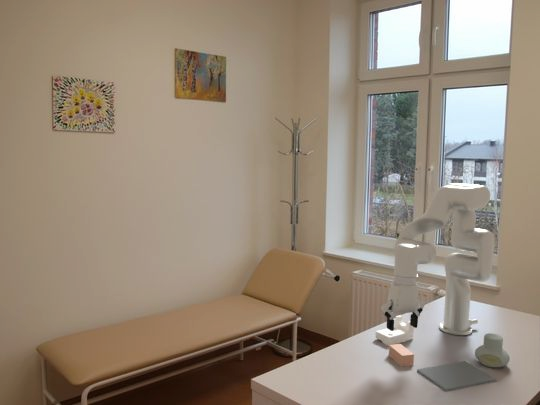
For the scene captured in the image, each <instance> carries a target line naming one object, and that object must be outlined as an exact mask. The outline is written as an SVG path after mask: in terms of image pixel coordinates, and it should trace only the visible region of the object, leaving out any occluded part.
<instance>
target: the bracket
mask: <svg viewBox="0 0 540 405" xmlns="http://www.w3.org/2000/svg"><path fill="white" fill-rule="evenodd" d="M414 330H415V327H413V326H411V325H410V320H408V321H407V323H405V322H404V320H403V315H402V314H398V315H395V319H394V330H393V331H391V330H389V329H387V327H386V328H383V329H378V330H376V331H375V339H377V340H379V341H381V343H382V344H384V345H386V346H387V347H389V345H394V344H401V343H404V342H408V341H411V340H413V339H414Z"/></svg>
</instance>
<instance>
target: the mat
mask: <svg viewBox="0 0 540 405" xmlns="http://www.w3.org/2000/svg"><path fill="white" fill-rule="evenodd" d="M416 372H417V373H420V375H422V376H424V377H425V378H426V379H427V380H430V382H432V383H434V384H435V385H436V386H438V387H440V388H441V389H443V391H445V392H448V391H454V390H458V389H463V388H468V387H472V386H473V387H474V386H478V385H483V384H487V383H492V382H496V381H497V378H495V377H494V376H492V375H490V374H488V373H486V372H485V371H483V370H482V369H479V368H478V367H476V366H474V365H473V364H471V363H470V362H468V361H467V360H461V361H456V362H450V363H445V364H439V365H435V366H429V367H423V368H418V369H416Z"/></svg>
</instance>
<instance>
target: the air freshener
mask: <svg viewBox="0 0 540 405" xmlns="http://www.w3.org/2000/svg"><path fill="white" fill-rule="evenodd" d="M503 342H504V337H502V336H501V335H499V334H497V333H485V334H484V336H483V344H482V345H479V346H478V347H477V348H476V349H475V351H474V356H475V358H476V359H477V361H478V362H479V363H480V364H482V365H484V366H486V367H488V368H492V369H493V368H494V369H495V368H497V369H498V368H503V367H505V366H506V365H508V364H509V363H510V359H511V358H510V355H509V353H508V351H506V350H505V348H503V345H504V343H503Z"/></svg>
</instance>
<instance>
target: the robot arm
mask: <svg viewBox="0 0 540 405" xmlns="http://www.w3.org/2000/svg"><path fill="white" fill-rule="evenodd" d="M490 192H491V191H490V189H489V188H488V187H487V186H485V185H480V184H472V183H471V184H469V183H462V182H461V183H459V182H453V183H452V182H451V183H447V184H445V185H443V186H440V187H439V188H437V189H436V190H435V193H434V195H433V197H432V199H431V200H430V202H429V204H428V206H427V208H426V210H425V211H424V213H423V214H422V216H419V217H417V218H415V219H414V220H413V221H411V222H410V223H408V224H407V225H406V226H405V227H403V228H402V230H401V232H400V234H399V235H398V237H397V239H396V241H395V243H394V247H393V248H394V250H393V251H394V266H393V268H394V270H393V282H391V284H390V285H389V286H390V287H389V290H388V296H387V302H386V303H384V304H382V305H381V307H380V308H381V311H382V314H383V315H384V317H386V328H387V329H389V330H391V331H393V330H394V326H395V319H394V318H396V316H397V315H402V314H409V313H411V314H410V320H409V321H410V325H411V326H413V327H414V329H417V328H418V322H419V317H420V316H421V313H422V312H423V310H424V307H425V305H426V303H425V301H422V300H420V298H419V296H420V294H419V286H418V283H417V280H419V279H420V278H419V275H418V265H428V264H430V263H432V262H433V261H434V260H435V258H436V257H437V250H436V247H435V245H433V244H432V243H430V242H426V241H420V240H417V239H416V240H415V238H417V237H418V236H420V235H421V236H422V235H423V234H427V233H431V232H435V231H439V230H443V228H445V227H446V226H447V224H448V222H449V220H450V218H451V216H452V225H451V235H450V236H451V237H450V239H451V240H450V242H451V246H452V247H453V248H454V249H456V250H459V251H462V252H469V253H475V254H476V255H472V254H468V253H467V254H466V253H461V252H451V253H449V254H448V255H447V256H446V257H445V259H444V272H445V294H444V295H445V297H444V309H443V310H444V311H443V312H444V313H443V322H440V323H439V326H438V328H439V329H440V330H441V331H442V332H444V333H446V334H450V335H454V336H468V335H470V334H472V333H473V327H471V326H472V325H476V324H478V322H479V321H478V319H477V318H475V319H473V318H472V319H471V318H470V310H471V309H470V308H471V294H472V289H471V285H470V282H469V280H470V281H473V282H474V281H475V282H478V283H485V282H487V281H488V280H490V278H491V275H492V270H493V262H494V251H495V236H494V234H493V232H491V231H489V230H488V229H482V228H476V223H477V214H476V212H475V211H476V210H479V209H483V208H485V207H486V206H488V204H489V202H490V200H491V193H490Z"/></svg>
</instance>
